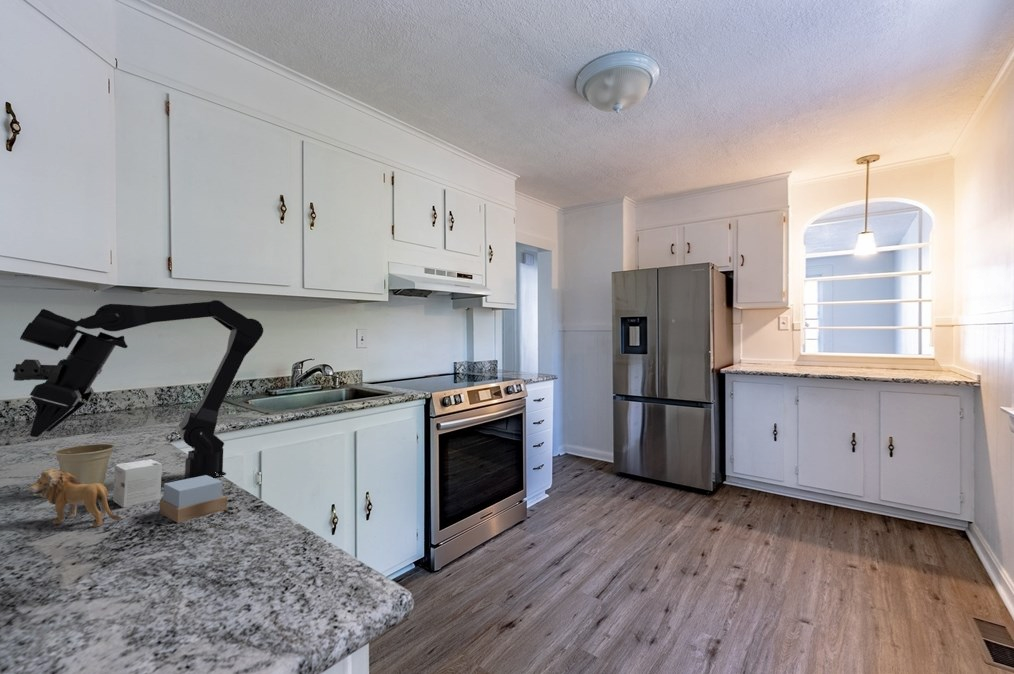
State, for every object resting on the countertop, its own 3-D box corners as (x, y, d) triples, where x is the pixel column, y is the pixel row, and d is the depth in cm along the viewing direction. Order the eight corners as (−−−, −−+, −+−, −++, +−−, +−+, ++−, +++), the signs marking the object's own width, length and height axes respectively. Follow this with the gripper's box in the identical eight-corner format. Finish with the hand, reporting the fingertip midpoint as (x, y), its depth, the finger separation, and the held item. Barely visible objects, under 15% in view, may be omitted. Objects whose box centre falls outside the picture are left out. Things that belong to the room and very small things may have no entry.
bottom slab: (207, 503, 88) (207, 488, 88) (226, 512, 84) (227, 496, 84) (159, 516, 82) (159, 499, 82) (177, 526, 77) (178, 509, 77)
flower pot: (83, 497, 89) (85, 454, 89) (38, 496, 89) (40, 453, 89) (125, 483, 98) (126, 444, 98) (83, 482, 98) (85, 443, 99)
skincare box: (112, 501, 87) (113, 464, 87) (150, 493, 92) (151, 458, 92) (122, 508, 83) (124, 469, 84) (161, 499, 88) (162, 463, 89)
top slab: (205, 490, 88) (206, 475, 88) (222, 497, 84) (222, 481, 84) (163, 499, 82) (164, 483, 82) (178, 508, 78) (179, 491, 78)
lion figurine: (21, 526, 74) (23, 473, 75) (53, 514, 80) (55, 465, 80) (107, 528, 75) (110, 475, 75) (134, 516, 80) (136, 466, 80)
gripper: (48, 346, 94) (1, 416, 89) (20, 341, 79) (-37, 425, 74) (111, 365, 99) (70, 432, 95) (97, 365, 84) (47, 444, 80)
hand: (40, 433), depth 86 cm, fingers open, 9 cm apart
